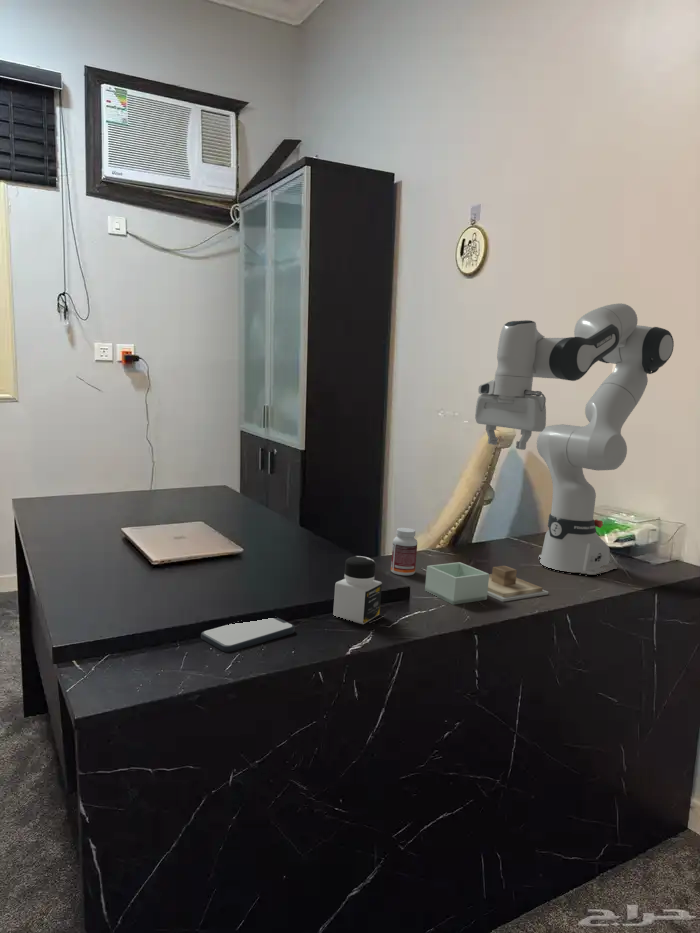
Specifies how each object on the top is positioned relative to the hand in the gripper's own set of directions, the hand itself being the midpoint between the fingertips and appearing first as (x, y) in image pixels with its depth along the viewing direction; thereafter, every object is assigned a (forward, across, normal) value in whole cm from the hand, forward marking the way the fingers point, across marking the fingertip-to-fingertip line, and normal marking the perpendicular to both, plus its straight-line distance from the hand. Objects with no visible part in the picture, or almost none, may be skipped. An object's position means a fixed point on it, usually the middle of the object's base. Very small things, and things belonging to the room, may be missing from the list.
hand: (506, 446), depth 163 cm
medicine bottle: (+34, -7, +44) cm, 57 cm away
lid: (+33, -4, 0) cm, 34 cm away
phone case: (+35, -9, +68) cm, 77 cm away
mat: (+34, -4, 0) cm, 34 cm away
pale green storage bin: (+34, -4, +15) cm, 38 cm away
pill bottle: (+34, +15, +16) cm, 41 cm away
